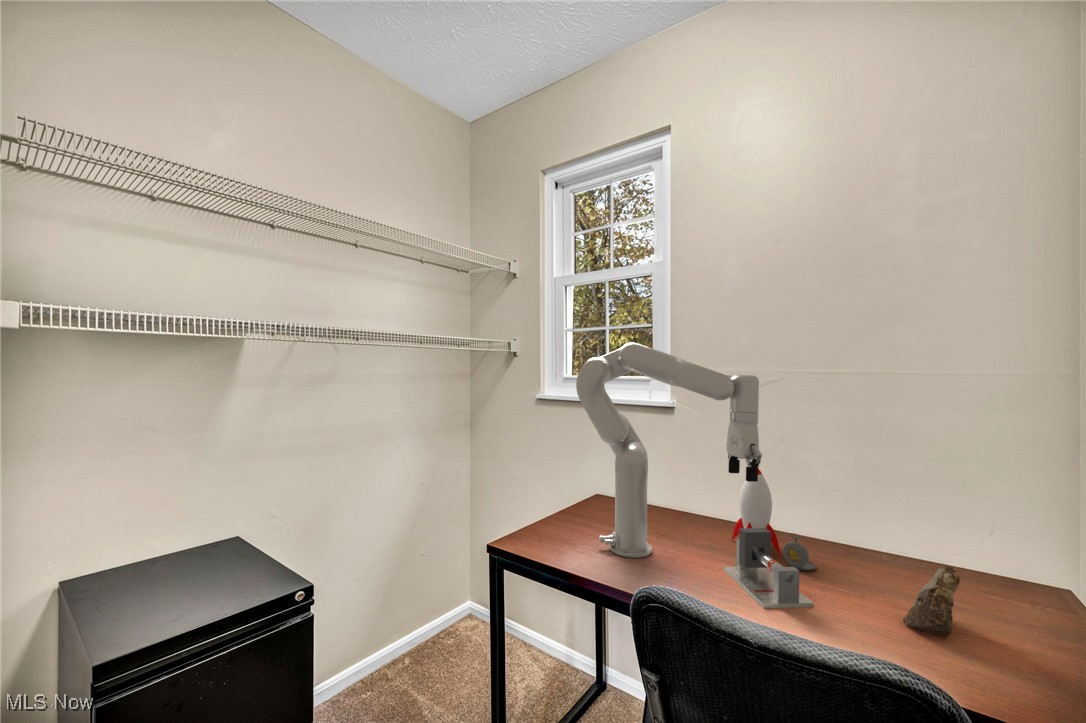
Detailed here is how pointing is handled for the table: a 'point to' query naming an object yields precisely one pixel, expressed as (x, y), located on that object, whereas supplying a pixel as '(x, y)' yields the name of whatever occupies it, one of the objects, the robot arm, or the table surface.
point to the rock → (935, 603)
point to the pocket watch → (797, 555)
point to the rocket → (756, 508)
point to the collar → (753, 546)
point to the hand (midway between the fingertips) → (742, 477)
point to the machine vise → (769, 582)
